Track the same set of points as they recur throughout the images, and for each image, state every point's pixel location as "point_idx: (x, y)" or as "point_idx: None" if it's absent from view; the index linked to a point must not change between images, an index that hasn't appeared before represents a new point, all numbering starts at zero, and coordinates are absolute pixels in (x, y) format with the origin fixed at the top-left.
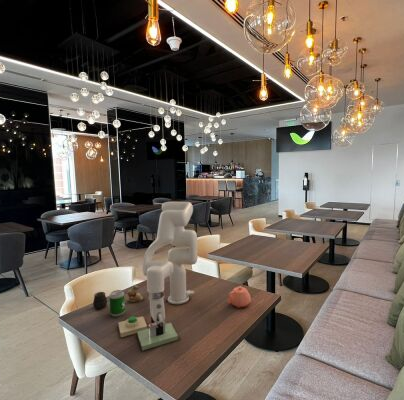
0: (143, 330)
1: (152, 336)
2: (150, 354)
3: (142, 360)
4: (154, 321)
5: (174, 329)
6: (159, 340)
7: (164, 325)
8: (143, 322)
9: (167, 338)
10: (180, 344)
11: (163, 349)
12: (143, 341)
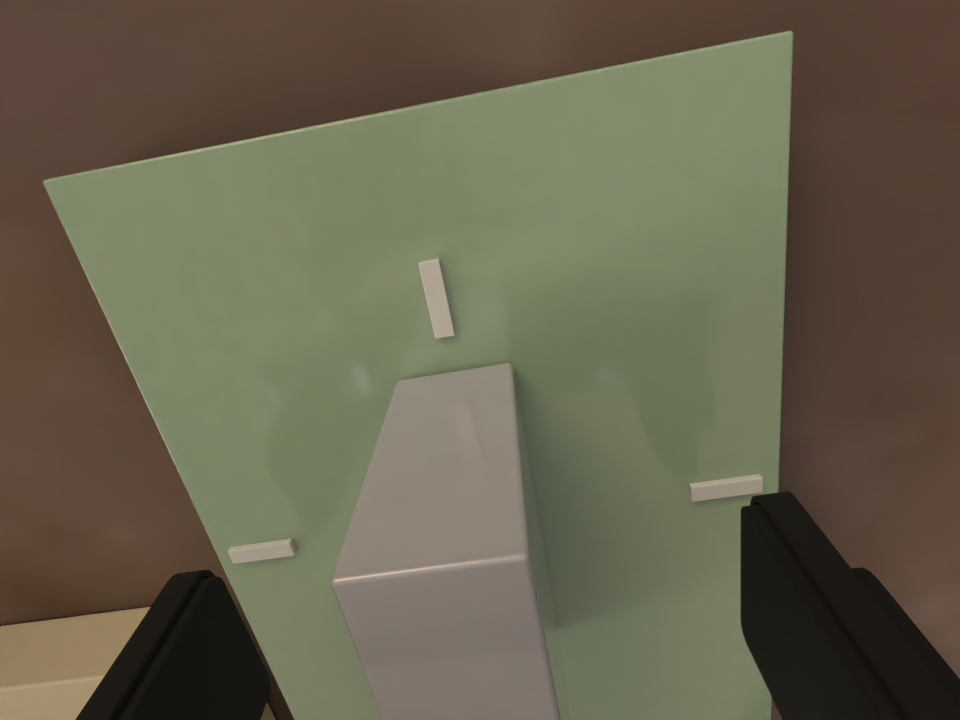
0: (311, 711)
1: (558, 599)
2: (894, 576)
3: (957, 663)
4: (218, 714)
5: (437, 105)
6: (753, 495)
7: (527, 498)
8: (45, 713)
9: (776, 337)
10: (955, 7)
11: (894, 391)
12: (648, 716)
